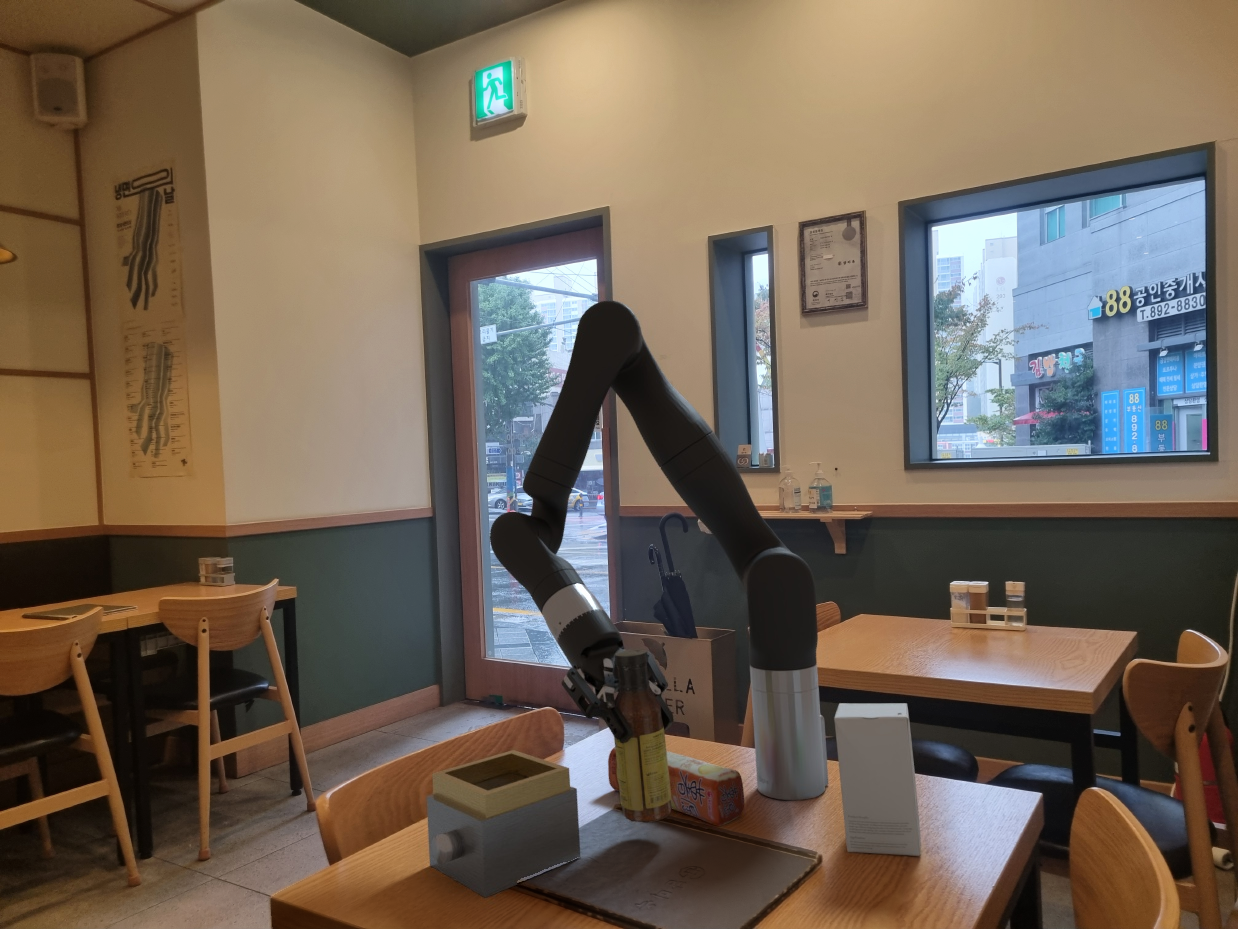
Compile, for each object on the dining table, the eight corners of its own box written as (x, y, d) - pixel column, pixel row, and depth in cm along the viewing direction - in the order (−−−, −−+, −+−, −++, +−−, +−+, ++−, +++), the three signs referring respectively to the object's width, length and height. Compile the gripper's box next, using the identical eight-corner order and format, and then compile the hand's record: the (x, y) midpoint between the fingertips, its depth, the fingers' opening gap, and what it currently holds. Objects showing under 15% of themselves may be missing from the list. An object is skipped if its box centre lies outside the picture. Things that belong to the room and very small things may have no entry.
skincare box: (920, 836, 99) (911, 702, 99) (921, 860, 92) (911, 717, 93) (847, 831, 101) (838, 700, 102) (843, 853, 95) (833, 714, 96)
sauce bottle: (673, 805, 105) (662, 645, 106) (671, 824, 99) (660, 655, 100) (621, 806, 106) (611, 647, 107) (616, 826, 100) (605, 657, 100)
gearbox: (521, 831, 107) (517, 748, 107) (580, 858, 98) (575, 767, 98) (414, 871, 97) (410, 779, 98) (469, 904, 88) (464, 803, 89)
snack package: (750, 816, 108) (747, 763, 109) (715, 832, 104) (712, 776, 104) (640, 781, 124) (637, 735, 125) (605, 793, 120) (603, 745, 120)
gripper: (548, 616, 104) (617, 727, 95) (633, 600, 114) (704, 700, 104) (526, 654, 108) (590, 766, 99) (610, 636, 118) (677, 736, 108)
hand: (648, 731), depth 102 cm, fingers closed on sauce bottle, 6 cm apart
